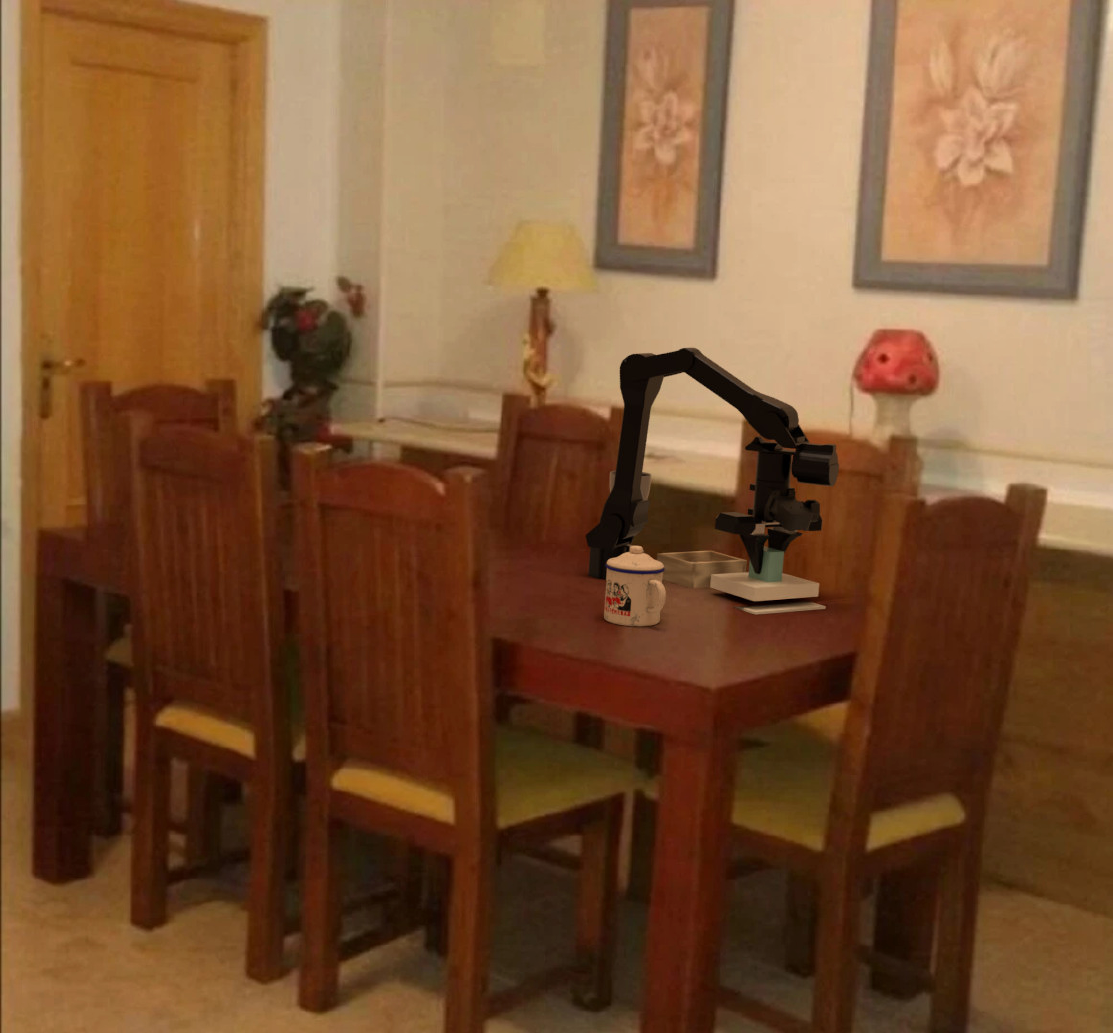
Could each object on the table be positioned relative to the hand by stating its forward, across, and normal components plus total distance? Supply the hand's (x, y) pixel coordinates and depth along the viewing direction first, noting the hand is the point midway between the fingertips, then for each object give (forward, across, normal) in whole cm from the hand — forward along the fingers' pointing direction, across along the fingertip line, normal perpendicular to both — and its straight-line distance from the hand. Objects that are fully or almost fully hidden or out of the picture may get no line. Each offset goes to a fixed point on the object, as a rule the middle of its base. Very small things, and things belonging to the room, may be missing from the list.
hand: (765, 573), depth 272 cm
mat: (+5, 0, 0) cm, 5 cm away
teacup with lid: (+5, -30, -6) cm, 31 cm away
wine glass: (+5, +7, +50) cm, 51 cm away
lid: (+3, 0, 0) cm, 3 cm away
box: (+5, -1, +16) cm, 17 cm away
